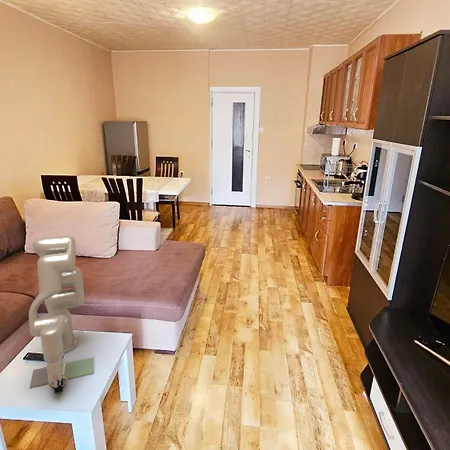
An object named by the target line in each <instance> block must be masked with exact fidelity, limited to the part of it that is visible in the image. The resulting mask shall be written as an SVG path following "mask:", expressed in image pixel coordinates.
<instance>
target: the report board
mask: <svg viewBox="0 0 450 450" xmlns="http://www.w3.org/2000/svg"><path fill="white" fill-rule="evenodd" d="M94 374H95V357H87V358H83V359H78V360H75V361H74V360H73V361H69V362H63V372H62V375H64V376H66V377H67V379H68V381H69V380H73V379H77V378H81V377H85V376H90V375H94ZM63 382H65V380H64V379H63ZM52 384H53V382H52ZM45 385H46V386H47V385H49V382H48V373H47V366H45V367H41V368H36V369H33V371H32V374H31V379H30V383H29V389H33V388H38V387H43V386H45Z"/></svg>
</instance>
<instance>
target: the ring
mask: <svg viewBox="0 0 450 450" xmlns="http://www.w3.org/2000/svg"><path fill="white" fill-rule="evenodd" d="M62 378H63V379H64V382H65V383H64V385H63V386H62V387H63V390H64V389H65V388H66V387H67V385H68V381H69V380H68V379H67V377H66V376H64V375H62ZM52 382H53V381H52ZM53 386H54V385H52V384H48V387H49V388H50V389H51V390H53V391H54V387H53Z"/></svg>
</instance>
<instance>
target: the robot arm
mask: <svg viewBox="0 0 450 450" xmlns="http://www.w3.org/2000/svg"><path fill="white" fill-rule="evenodd" d="M76 247H77V245H76V239H75V238H74V236H71V235H61V236H47V237H39V238H36V239H34V240H33V242H32V248H33V251H34V252H35V254H37V256H39V258H38V260H37V278H38V289H39V292H38V295H37V296H36V297H35V298H34V300H33V301H32V303H31V305H30V306H29V307H30V308H29V310H28V325H29V332H30V335H31V336H32V337H34V338H38V337H40V342H41V348H42V355H43V360H44V362H45V363H46V367H47V373H48V382H49V384H51V385H52V384H53V385H52V386H53V387H54V390H53V392H54V394H55V395H56V394H59V393H63V392H64V389H63V386H64V385H65V383H64V381H63V378H62V372H63V363H64V362H63V361H64V360H63V358H64V356H65V354H66V353H69V352H71V351H72V350H74V349H75V348H77V346H78V339H77V338H76V337H75V336H74V331H73V330H74V329H73V321H72V315H71V312H70V311H69V309H73V308H78V307H81V306H83V305H84V303H85V291H84V289H85V288H84V280H83V274H82V271H81V269H80V268H79V267H78V266H76V254H77V253H76V251H77V250H76ZM63 288H64V289H63ZM43 302H44V303H45V307H46V310H47V312H48V316H46V317H45V316H43V317H38V309H39V307H40V305H41V304H42V303H43ZM52 381H53V383H52ZM49 384H48V385H49Z"/></svg>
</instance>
